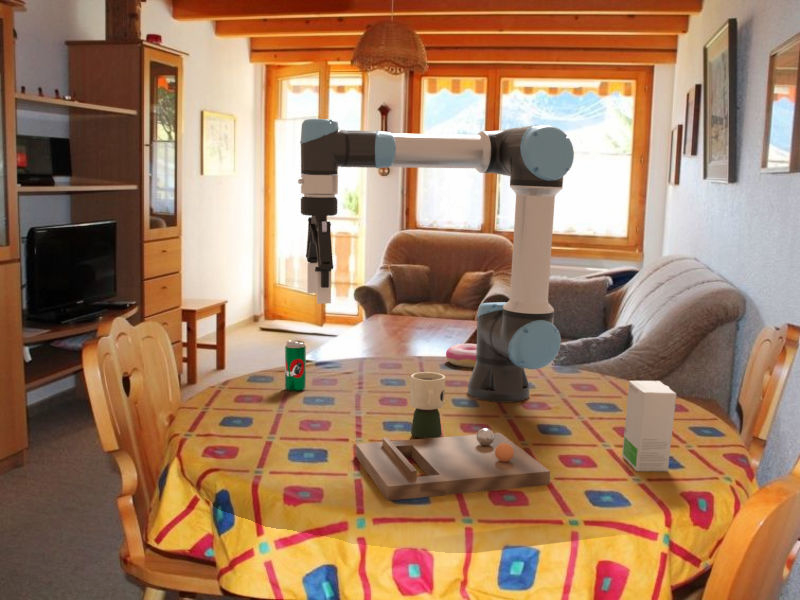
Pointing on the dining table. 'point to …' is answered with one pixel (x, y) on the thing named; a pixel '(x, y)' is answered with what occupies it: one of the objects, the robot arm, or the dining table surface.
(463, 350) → the donut
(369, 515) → the dining table surface
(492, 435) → the steel ball
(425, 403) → the character mug
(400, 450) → the walnut board
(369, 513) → the dining table surface
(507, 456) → the rust ball
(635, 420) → the skincare box
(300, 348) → the soda can
